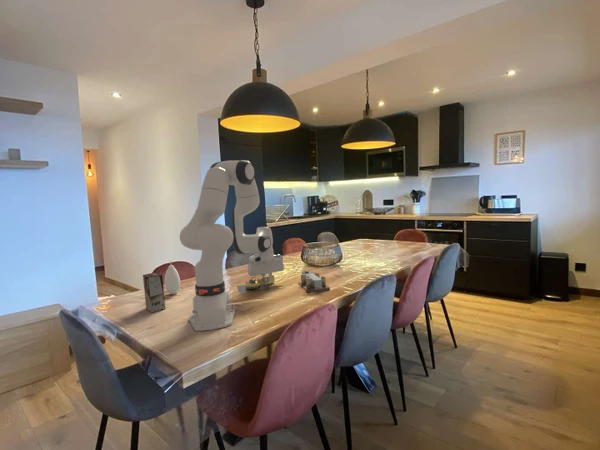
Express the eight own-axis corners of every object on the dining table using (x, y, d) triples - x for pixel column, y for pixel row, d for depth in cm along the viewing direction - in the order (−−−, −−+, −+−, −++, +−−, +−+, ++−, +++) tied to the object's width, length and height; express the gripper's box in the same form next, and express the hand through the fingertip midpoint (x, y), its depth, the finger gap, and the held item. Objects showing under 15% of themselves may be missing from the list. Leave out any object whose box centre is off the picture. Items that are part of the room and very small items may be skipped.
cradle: (329, 290, 164) (329, 277, 163) (307, 293, 161) (306, 280, 160) (319, 282, 179) (318, 271, 179) (298, 285, 176) (297, 273, 175)
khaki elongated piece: (250, 290, 167) (249, 282, 167) (242, 287, 174) (242, 280, 173) (277, 283, 178) (277, 276, 177) (269, 280, 184) (269, 274, 184)
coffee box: (166, 308, 149) (163, 274, 147) (151, 312, 145) (148, 277, 143) (159, 304, 156) (156, 272, 154) (145, 308, 151) (142, 274, 150)
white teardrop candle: (166, 292, 176) (163, 260, 174) (181, 291, 178) (179, 258, 176) (164, 297, 168) (161, 262, 166) (180, 294, 170) (177, 261, 169)
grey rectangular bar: (323, 288, 163) (323, 278, 162) (313, 289, 161) (312, 279, 161) (310, 278, 183) (310, 269, 182) (301, 280, 181) (300, 271, 181)
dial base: (274, 290, 168) (274, 288, 168) (239, 295, 163) (239, 293, 163) (268, 283, 183) (268, 281, 183) (236, 287, 178) (236, 285, 178)
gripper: (279, 253, 183) (281, 277, 183) (245, 258, 172) (247, 283, 173) (285, 254, 177) (286, 279, 178) (250, 259, 167) (252, 285, 168)
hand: (267, 281), depth 176 cm, fingers closed
